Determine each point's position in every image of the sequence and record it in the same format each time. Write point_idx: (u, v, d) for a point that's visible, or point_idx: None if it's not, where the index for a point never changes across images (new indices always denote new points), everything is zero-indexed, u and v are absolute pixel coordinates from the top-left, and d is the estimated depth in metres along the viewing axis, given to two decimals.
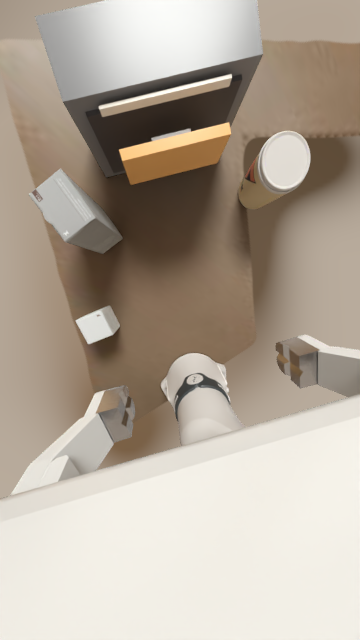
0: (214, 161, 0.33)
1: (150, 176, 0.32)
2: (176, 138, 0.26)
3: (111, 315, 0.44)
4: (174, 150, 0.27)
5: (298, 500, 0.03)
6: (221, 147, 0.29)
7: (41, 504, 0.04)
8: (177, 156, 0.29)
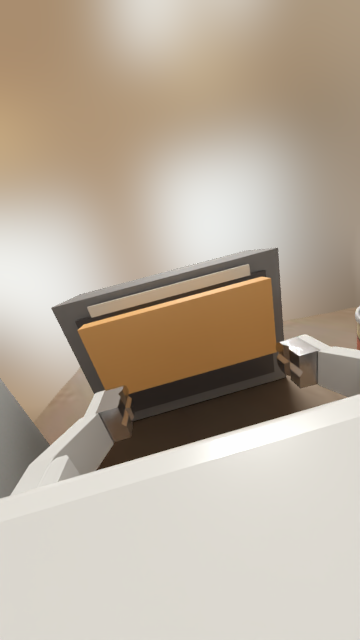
0: (268, 345, 0.17)
1: (144, 379, 0.17)
2: (176, 300, 0.16)
3: None
4: (173, 310, 0.15)
5: (298, 500, 0.03)
6: (266, 311, 0.16)
7: (41, 504, 0.04)
8: (184, 327, 0.16)
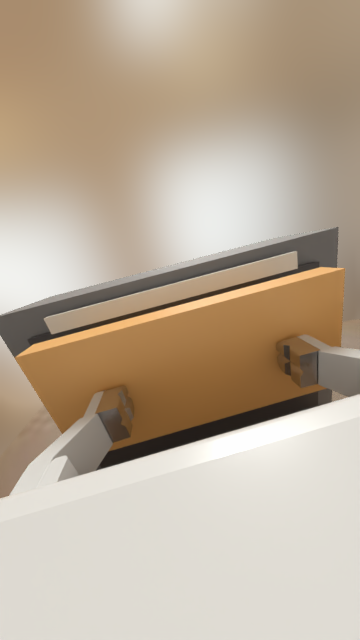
0: None
1: (133, 429, 0.11)
2: (184, 305, 0.10)
3: None
4: (180, 322, 0.09)
5: (298, 500, 0.03)
6: (331, 323, 0.10)
7: (41, 504, 0.04)
8: (198, 349, 0.09)
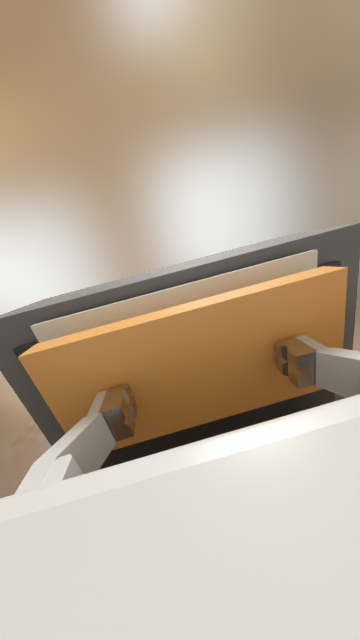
0: None
1: (135, 428, 0.11)
2: (186, 304, 0.10)
3: None
4: (183, 321, 0.09)
5: (298, 500, 0.03)
6: (334, 323, 0.10)
7: (41, 504, 0.04)
8: (200, 349, 0.09)
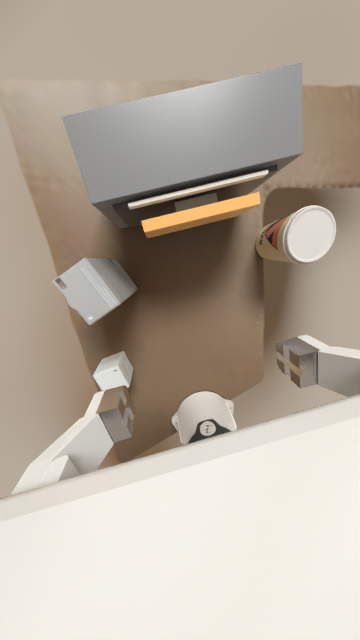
0: (236, 215, 0.31)
1: (168, 232, 0.30)
2: (202, 209, 0.25)
3: (125, 363, 0.45)
4: (200, 219, 0.25)
5: (298, 500, 0.03)
6: (246, 210, 0.28)
7: (41, 504, 0.04)
8: (201, 220, 0.27)
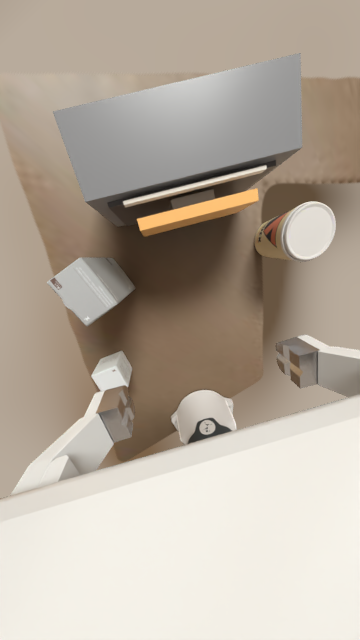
0: (235, 212, 0.30)
1: (165, 230, 0.30)
2: (199, 206, 0.24)
3: (124, 363, 0.45)
4: (197, 216, 0.25)
5: (298, 500, 0.03)
6: (244, 207, 0.27)
7: (41, 504, 0.04)
8: (198, 218, 0.26)
